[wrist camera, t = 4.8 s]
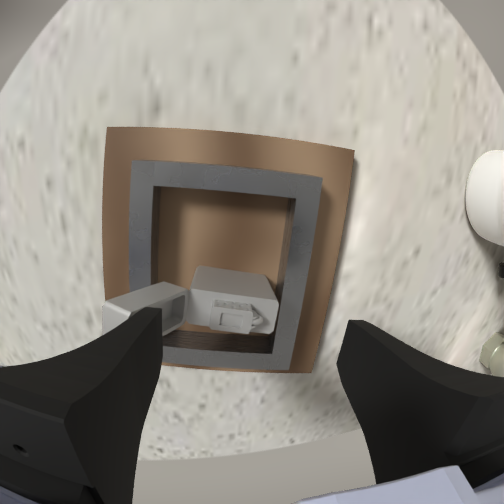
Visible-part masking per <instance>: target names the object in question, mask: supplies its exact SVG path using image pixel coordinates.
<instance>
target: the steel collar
mask: <svg viewBox="0 0 504 504" xmlns="http://www.w3.org/2000/svg"><path fill="white" fill-rule="evenodd" d="M322 181H323V178H322V177H318V176H314V175H309V174H302V173H294V172H287V171H279V170H270V169H262V168H252V167H243V166H233V165H222V164H210V163H197V162H182V161H165V160H143V159H142V160H132V165H131V181H130V202H129V289H130V292H133V291H136V290H139V289H142V288H145V287H148V286H151V285H154V284H157V283H158V244H159V218H160V199H161V186H165V187H180V188H194V189H206V190H218V191H230V192H240V193H250V194H260V195H270V196H279V197H287V198H288V204H287V212H286V219H285V227H284V234H283V241H282V248H281V255H280V262H279V269H278V276H277V283H276V290H275V296H276V298H277V301H278V303H279V307H278V312H277V317H276V321H275V326H274V331H273V332H271V333H270V334H269V335H268V336H254V335H237V334H222V333H209V332H197V331H186V330H176V329H175V330H173V331H171V332H170V333H168V334H166V335H164V336H163V359H162V362H165V363H175V364H184V365H195V366H207V367H221V368H238V369H261V370H289V367H290V362H291V358H292V353H293V348H294V343H295V339H296V334H297V329H298V324H299V319H300V314H301V309H302V303H303V298H304V293H305V287H306V282H307V276H308V271H309V265H310V259H311V253H312V247H313V241H314V235H315V228H316V222H317V216H318V209H319V202H320V195H321V188H322Z"/></svg>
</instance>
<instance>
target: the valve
mask: <svg viewBox="0 0 504 504" xmlns="http://www.w3.org/2000/svg"><path fill="white" fill-rule="evenodd" d="M498 275H499V277H501V278H504V262H503V263H500V264H499V272H498ZM479 361H480V362H481V363H482V364H483V365H484V366H485V367H486V368H488V369H490V370H491V373H492V376H498V377H504V335H502V334H500V333H497V332H496V333H494V334H493V335H492V337H491V338H490V339H489V340H488V341H487V342H486V343H485V344H484V345H483V347H482V351H481V355H480V359H479Z"/></svg>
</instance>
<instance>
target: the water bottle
mask: <svg viewBox="0 0 504 504" xmlns="http://www.w3.org/2000/svg"><path fill="white" fill-rule="evenodd" d="M465 201H466V210H467V215H468V218H469V221H470V223H471V225H472V227H473V229H474V230H475V231H476V233H477V234H478V235H480V236H481V237H482V238H484V239H486V240H488V241H490V242H493V243H495V244H498V245H501V246H504V151H502V150H492V151H488V152H486V153H484V154H483V155H481V156H480V157H479V158H478V159H477V161H476V162H475V163H474V165H473V167H472V169H471V171H470V174H469V177H468V180H467V185H466V194H465Z"/></svg>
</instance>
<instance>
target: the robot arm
mask: <svg viewBox="0 0 504 504" xmlns="http://www.w3.org/2000/svg"><path fill="white" fill-rule="evenodd" d="M162 359H163V337H162V308H153V307H144V308H143V309H141V310H140V311H138V312H137V313H135V314H134V315H133V316H131V317H130V318H128V319H127V320H126V321H124V322H123V323H121V324H120V325H118V326H117V327H115V328H114V329H112V330H111V331H109V332H107V333H106V334H104V335H102V336H101V337H99V338H97V339H96V340H94V341H92V342H90V343H88V344H86V345H84V346H81V347H79V348H77V349H75V350H72V351H70V352H67V353H64V354H61V355H58V356H55V357H52V358H49V359H45V360H41V361H38V362H33V363H28V364H23V365H16V366H7V367H1V366H0V504H132V498H133V488H134V479H135V470H136V464H137V457H138V451H139V445H140V439H141V433H142V429H143V426H144V422H145V419H146V416H147V413H148V410H149V406H150V403H151V400H152V397H153V394H154V391H155V388H156V385H157V382H158V379H159V375H160V370H161V364H162ZM336 364H337V368H338V372H339V376H340V379H341V382H342V385H343V388H344V390H345V392H346V394H347V397H348V399H349V401H350V403H351V406H352V408H353V410H354V412H355V414H356V417H357V419H358V421H359V423H360V426H361V428H362V431H363V433H364V436H365V439H366V443H367V446H368V450H369V453H370V457H371V461H372V465H373V469H374V474H375V479H376V485H372V486H367V487H362V488H357V489H351V490H345V491H338V492H331V493H327V494H323V495H319V496H314V497H310V498H305V499H301V500H299V501H297V502H294V503H292V504H504V377H498V376H491V375H486V374H481V373H476V372H472V371H469V370H465V369H462V368H459V367H455V366H453V365H450V364H447V363H444V362H442V361H440V360H437V359H435V358H432V357H430V356H428V355H426V354H424V353H422V352H420V351H418V350H416V349H414V348H412V347H411V346H409V345H407V344H405V343H403V342H402V341H400V340H398V339H397V338H395V337H393V336H392V335H390V334H388V333H386V332H385V331H383V330H381V329H380V328H378V327H376V326H374V325H372V324H371V323H369V322H366V321H364V320H349V321H348V324H347V328H346V332H345V335H344V339H343V343H342V346H341V350H340V353H339V356H338V360H337V363H336Z"/></svg>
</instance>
